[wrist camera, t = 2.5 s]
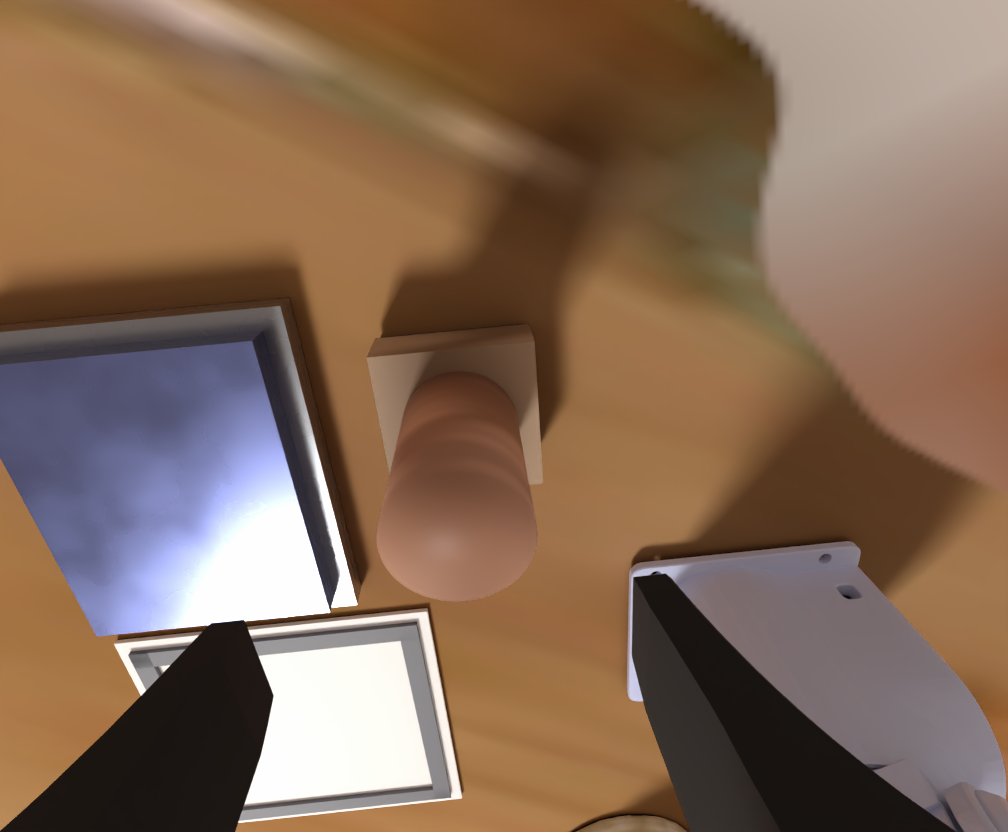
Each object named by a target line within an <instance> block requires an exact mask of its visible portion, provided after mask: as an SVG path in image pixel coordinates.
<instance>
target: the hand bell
mask: <svg viewBox="0 0 1008 832" xmlns="http://www.w3.org/2000/svg"><path fill="white" fill-rule="evenodd" d="M576 832H687V831H686V830H685V829H683V828H682V827H681V826H680V825H678V824H677V823H675V822H673V821H670V820H667V819H664V818H661V817H656V816H646V815H642V816H630V815H628V816H619V817H615V818H610V819H605V820H601V821H598V822H596V823H593V824H591V825H589V826H586V827H584V828H582V829H580V830H578V831H576Z"/></svg>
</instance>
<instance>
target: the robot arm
mask: <svg viewBox="0 0 1008 832" xmlns="http://www.w3.org/2000/svg"><path fill="white" fill-rule="evenodd" d="M824 554H825V555H824ZM822 555H824V556H822ZM860 555H861V551H860V549H859V548H858V547H857V545H856V544H855V543H853V542H851V541H844V542H834V543H824V544H814V545H805V546H795V547H785V548H776V549H766V550H756V551H746V552H737V553H727V554H717V555H708V556H698V557H688V558H679V559H669V560H659V561H649V562H641V563H637V564H635V565H634V566H633V567H632V568H631V569H630V572H629V612H628V659H627V692H628V695H629V698H630V699H631V700H634V701H643V702H644V706H645V710H646V713H647V715H648V718H649V721H650V724H651V727H652V729H653V732H654V735H655V737H656V740H657V743H658V746H659V748H660V751H661V754H662V756H663V759H664V762H665V764H666V767H667V770H668V772H669V775H670V778H671V781H672V783H673V786H674V789H675V791H676V794H677V797H678V799H679V802H680V805H681V807H682V810H683V813H684V815H685V818H686V821H687V823H688V826H689V829H690V831H691V832H1008V801H1007V800H1006V776H1005V768H1004V763H1003V759H1002V755H1001V752H1000V749H999V746H998V744H997V741H996V738H995V736H994V734H993V732H992V729H991V727H990V725H989V723H988V721H987V719H986V717H985V715H984V713H983V711H982V710H981V708H980V706H979V705H978V703H977V701H976V700H975V698H974V697H973V695H972V694H971V692H970V691H969V690H968V688H967V687H966V685H965V684H964V683H963V681H962V680H961V679H960V678H959V677H958V675H957V674H956V673H955V672H954V671H953V670H952V669H951V668H950V666H949V665H948V664H947V663H946V662H945V661H944V660H943V659H942V658H941V657H940V655H939V654H938V653H937V652H936V651H935V650H934V649H933V648H932V647H931V646H930V645H929V643H928V642H927V641H926V640H925V639H924V638H923V637H922V636H921V635H920V634H919V633H918V631H917V630H916V629H915V628H914V627H913V626H912V625H911V624H910V623H909V622H908V621H907V619H906V618H905V617H904V616H903V615H902V614H901V613H900V612H899V611H898V610H897V608H896V607H895V606H894V605H893V604H892V603H891V602H890V601H889V600H888V599H887V598H886V596H885V595H884V594H883V593H882V592H881V591H880V590H879V589H878V588H877V587H876V586H875V584H874V583H873V582H872V581H871V580H870V579H869V578H868V577H867V576H866V575H865V573H864V572H863V571H862V570H861V569H860V568H859V567H858V563H859V559H860ZM821 556H822V557H821ZM655 571H659V572H658V573H656V574H654V575H650V574H651V573H653V572H655ZM273 697H274V695H273V692H272V690H271V687H270V685H269V682H268V679H267V677H266V674H265V672H264V669H263V667H262V664H261V661H260V659H259V656H258V654H257V651H256V649H255V646H254V643H253V641H252V638H251V636H250V633H249V631H248V628H247V625H246V623H245V620H236V621H227V622H218V623H211V624H210V625H209V626H208V627H207V628H206V629H205V630H204V631H203V632H202V633H201V634H200V635H199V636H198V637H197V638H196V639H195V640H194V641H193V642H192V643H191V644H190V645H189V646H188V647H187V648H186V649H185V650H184V651H183V652H182V653H181V655H180V656H179V657H178V658H177V659H176V660H175V661H174V662H173V663H172V664H171V665H170V666H169V667H168V668H167V669H166V670H165V671H164V672H163V673H162V675H161V676H160V677H159V678H158V679H157V680H156V681H155V682H154V683H153V684H152V685H151V686H150V687H149V688H148V689H147V690H146V691H145V692H144V693H143V694H142V695H141V696H140V697H139V698H138V699H137V700H136V702H135V703H134V704H133V705H132V706H131V707H130V708H129V709H128V710H127V711H126V712H125V713H124V714H123V715H122V716H121V717H120V718H119V719H118V720H117V721H116V722H115V723H114V724H113V725H112V726H111V727H110V728H109V729H108V730H107V731H106V732H105V733H104V734H103V735H102V736H101V737H100V738H99V739H98V740H97V741H96V742H95V743H94V744H93V745H92V746H91V747H90V748H89V749H88V750H87V751H86V752H85V753H83V754H82V755H81V756H80V757H79V758H78V759H77V760H76V761H75V762H74V763H73V764H72V765H71V766H70V767H69V768H68V769H67V770H66V771H65V772H64V773H63V774H62V775H61V776H60V777H59V778H58V779H57V780H55V781H54V782H53V783H52V784H51V785H50V786H49V787H48V788H47V789H46V790H45V791H44V792H43V793H42V794H41V795H40V796H39V797H38V798H36V799H35V800H34V801H33V802H32V803H31V804H30V805H29V806H28V807H27V808H25V809H24V810H23V811H22V812H21V813H20V814H19V815H18V816H17V817H15V818H14V819H13V820H12V821H11V822H10V823H9V824H8V825H6V826H5V827H4V828H3V829H2V830H1V831H0V832H235V830H236V827H237V824H238V821H239V819H240V816H241V813H242V810H243V807H244V804H245V801H246V798H247V795H248V792H249V789H250V786H251V783H252V780H253V777H254V774H255V772H256V768H257V765H258V762H259V759H260V756H261V753H262V748H263V744H264V740H265V735H266V731H267V727H268V722H269V717H270V712H271V707H272V702H273Z"/></svg>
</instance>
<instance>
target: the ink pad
mask: <svg viewBox="0 0 1008 832" xmlns="http://www.w3.org/2000/svg"><path fill="white" fill-rule="evenodd" d="M0 458H1V460H2V462H3V464H4V466H5V468H6V469H7V471H8V473H9V475H10V477H11V479H12V480H13V482H14V484H15V486H16V488H17V490H18V492H19V493H20V495H21V497H22V499H23V501H24V503H25V504H26V506H27V508H28V510H29V512H30V514H31V516H32V517H33V519H34V521H35V523H36V525H37V527H38V528H39V530H40V532H41V534H42V536H43V538H44V540H45V541H46V543H47V545H48V547H49V549H50V551H51V552H52V554H53V556H54V558H55V560H56V562H57V564H58V565H59V567H60V569H61V571H62V573H63V575H64V577H65V578H66V580H67V582H68V584H69V586H70V588H71V589H72V591H73V593H74V595H75V597H76V599H77V601H78V602H79V604H80V606H81V608H82V610H83V612H84V613H85V615H86V617H87V619H88V621H89V623H90V625H91V626H92V628H93V630H94V632H95V634H96V636H107V635H116V634H126V633H136V632H145V631H155V630H165V629H174V628H184V627H194V626H203V625H210V624H211V623H218V622H227V621H236V620H245V621H252V620H261V619H271V618H281V617H290V616H300V615H310V614H319V613H329V612H330V611H331V607H341V606H351V605H357V603H358V599H359V595H360V590H361V584H360V580H359V576H358V572H357V568H356V564H355V560H354V556H353V552H352V547H351V543H350V539H349V535H348V531H347V527H346V523H345V519H344V515H343V511H342V507H341V503H340V499H339V495H338V491H337V487H336V483H335V479H334V475H333V471H332V467H331V463H330V459H329V455H328V451H327V447H326V443H325V439H324V435H323V431H322V427H321V423H320V419H319V415H318V411H317V407H316V402H315V398H314V394H313V390H312V386H311V382H310V378H309V374H308V370H307V366H306V362H305V358H304V354H303V350H302V346H301V342H300V338H299V334H298V330H297V326H296V322H295V318H294V314H293V310H292V306H291V302H290V298H280V299H270V300H259V301H248V302H238V303H227V304H216V305H206V306H195V307H184V308H174V309H163V310H152V311H142V312H131V313H120V314H110V315H99V316H88V317H78V318H67V319H56V320H46V321H35V322H24V323H14V324H3V325H0Z"/></svg>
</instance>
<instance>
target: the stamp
mask: <svg viewBox="0 0 1008 832" xmlns="http://www.w3.org/2000/svg"><path fill="white" fill-rule="evenodd" d="M367 362H368V367H369V372H370V378H371V383H372V388H373V393H374V398H375V403H376V408H377V413H378V418H379V423H380V428H381V433H382V438H383V443H384V448H385V454H386V459H387V464H388V469H389V474H390V475H389V479H388V484H387V488H386V492H385V497H384V501H383V505H382V510H381V514H380V518H379V523H378V528H377V547H378V551H379V554H380V557H381V559H382V562H383V564H384V565H385V567H386V568H387V570H388V571H389V572H390V574H391V575H392V576H393V577H394V578H395V579H396V580H397V581H399V582H400V583H401V584H402V585H404V586H405V587H407V588H408V589H410V590H412V591H414V592H416V593H418V594H420V595H423V596H426V597H429V598H433V599H437V600H443V601H469V600H476V599H480V598H484V597H487V596H490V595H492V594H495V593H497V592H499V591H501V590H503V589H505V588H506V587H508V586H509V585H511V584H512V583H513V582H514V581H516V580H517V579H518V578H519V577H520V576H521V575H522V574H523V573H524V572H525V570H526V569H527V567H528V566H529V564H530V562H531V561H532V559H533V556H534V553H535V551H536V546H537V536H538V532H537V525H536V520H535V514H534V509H533V503H532V497H531V492H530V486H529V485H533V484H543V473H542V456H541V439H540V422H539V405H538V388H537V371H536V354H535V341H534V338H533V335H532V332H531V329H530V326H529V324H518V325H508V326H497V327H487V328H476V329H466V330H455V331H445V332H434V333H424V334H413V335H403V336H392V337H382V338H376V339H375V340H374V343H373V345H372V347H371V349H370V351H369V353H368V356H367Z"/></svg>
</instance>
